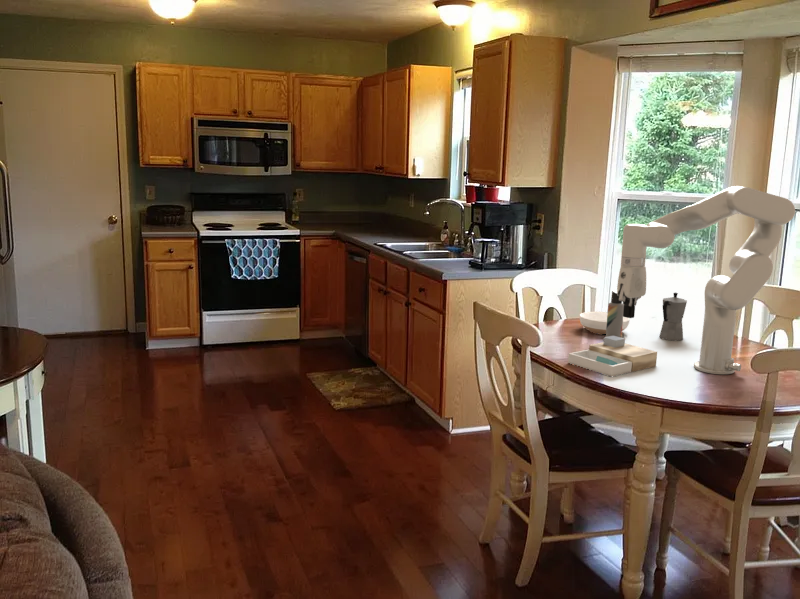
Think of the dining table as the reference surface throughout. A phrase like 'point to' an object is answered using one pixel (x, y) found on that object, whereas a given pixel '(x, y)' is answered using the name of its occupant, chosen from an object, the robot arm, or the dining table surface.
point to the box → (599, 363)
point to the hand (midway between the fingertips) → (628, 317)
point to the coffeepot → (673, 318)
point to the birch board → (629, 354)
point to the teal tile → (605, 360)
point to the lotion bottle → (615, 316)
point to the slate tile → (614, 341)
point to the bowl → (598, 321)
